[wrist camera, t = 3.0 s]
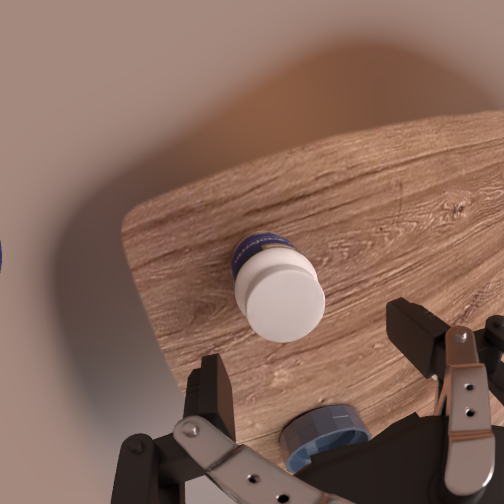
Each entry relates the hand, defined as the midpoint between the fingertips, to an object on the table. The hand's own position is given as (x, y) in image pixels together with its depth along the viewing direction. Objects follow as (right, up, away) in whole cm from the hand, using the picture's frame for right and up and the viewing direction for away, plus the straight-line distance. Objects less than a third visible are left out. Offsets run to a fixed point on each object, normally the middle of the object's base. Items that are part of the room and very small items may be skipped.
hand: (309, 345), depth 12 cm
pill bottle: (-2, +3, +14) cm, 14 cm away
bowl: (+7, -21, +21) cm, 31 cm away
